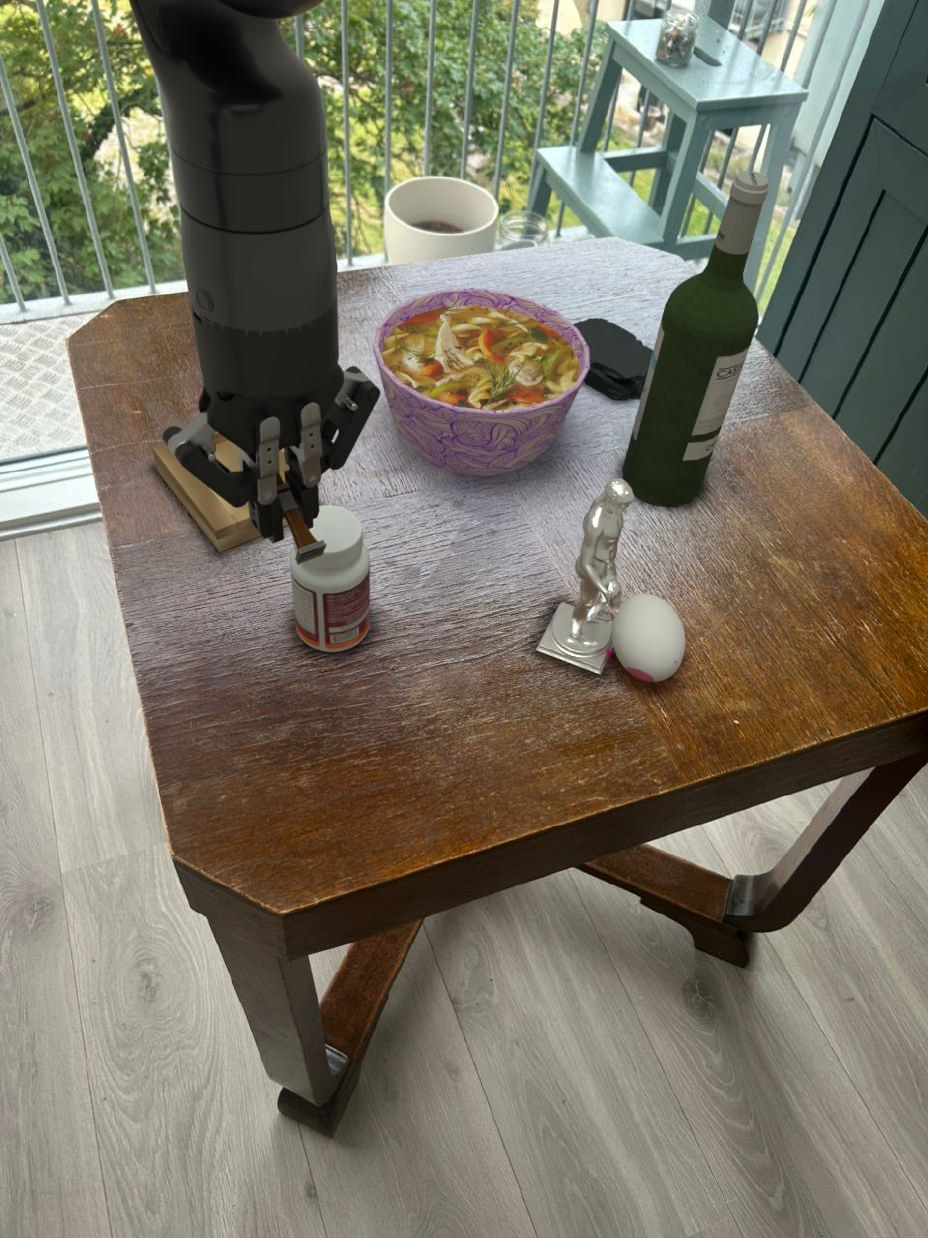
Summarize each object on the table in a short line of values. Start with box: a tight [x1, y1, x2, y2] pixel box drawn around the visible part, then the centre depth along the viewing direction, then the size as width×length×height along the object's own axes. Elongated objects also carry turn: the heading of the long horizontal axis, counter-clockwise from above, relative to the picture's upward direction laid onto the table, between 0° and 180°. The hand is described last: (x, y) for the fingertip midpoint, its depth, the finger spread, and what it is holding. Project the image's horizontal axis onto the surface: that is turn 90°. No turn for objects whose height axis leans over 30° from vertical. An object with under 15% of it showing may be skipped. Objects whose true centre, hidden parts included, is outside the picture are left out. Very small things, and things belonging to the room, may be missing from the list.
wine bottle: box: [621, 170, 770, 507], centre depth 83 cm, size 8×8×30 cm
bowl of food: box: [372, 287, 590, 477], centre depth 92 cm, size 20×20×12 cm
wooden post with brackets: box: [276, 473, 327, 565], centre depth 61 cm, size 2×8×4 cm, turn 32°
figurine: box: [535, 477, 636, 676], centre depth 73 cm, size 8×7×18 cm
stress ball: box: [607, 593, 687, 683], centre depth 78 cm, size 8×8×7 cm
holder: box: [151, 431, 290, 553], centre depth 88 cm, size 10×13×3 cm
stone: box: [572, 317, 654, 401], centre depth 105 cm, size 8×12×3 cm
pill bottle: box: [289, 504, 371, 653], centre depth 75 cm, size 6×6×11 cm
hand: (285, 527), depth 62 cm, fingers closed on wooden post with brackets, 1 cm apart
